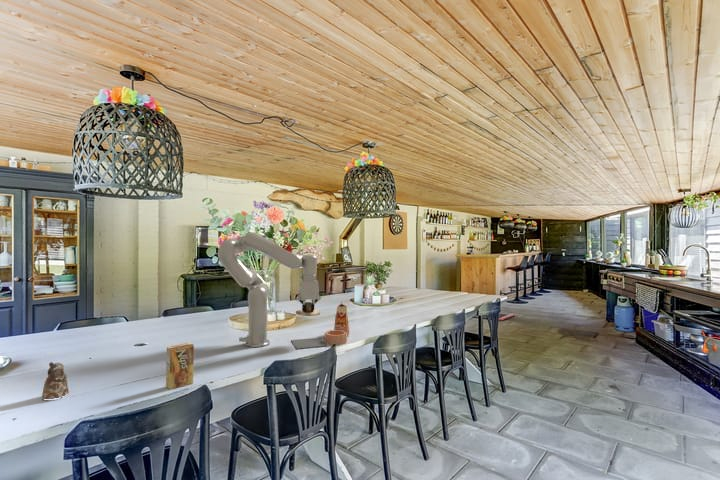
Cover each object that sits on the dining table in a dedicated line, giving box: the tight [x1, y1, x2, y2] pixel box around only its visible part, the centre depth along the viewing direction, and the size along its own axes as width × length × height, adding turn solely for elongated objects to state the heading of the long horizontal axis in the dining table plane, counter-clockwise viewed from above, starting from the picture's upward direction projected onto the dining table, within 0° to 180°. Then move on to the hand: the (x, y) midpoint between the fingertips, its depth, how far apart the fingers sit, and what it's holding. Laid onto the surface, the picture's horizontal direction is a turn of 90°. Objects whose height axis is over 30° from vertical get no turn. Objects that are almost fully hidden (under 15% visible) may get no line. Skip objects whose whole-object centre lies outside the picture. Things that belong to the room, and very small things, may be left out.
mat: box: [290, 337, 328, 350], centre depth 202 cm, size 16×16×1 cm
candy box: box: [165, 342, 195, 390], centre depth 144 cm, size 9×4×15 cm, turn 137°
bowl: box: [323, 329, 348, 346], centre depth 207 cm, size 12×12×5 cm
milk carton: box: [333, 301, 350, 338], centre depth 223 cm, size 9×9×20 cm
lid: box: [295, 301, 321, 317], centre depth 202 cm, size 13×13×6 cm
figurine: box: [41, 361, 69, 400], centre depth 132 cm, size 7×7×12 cm
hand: (308, 311), depth 202 cm, fingers closed on lid, 3 cm apart
